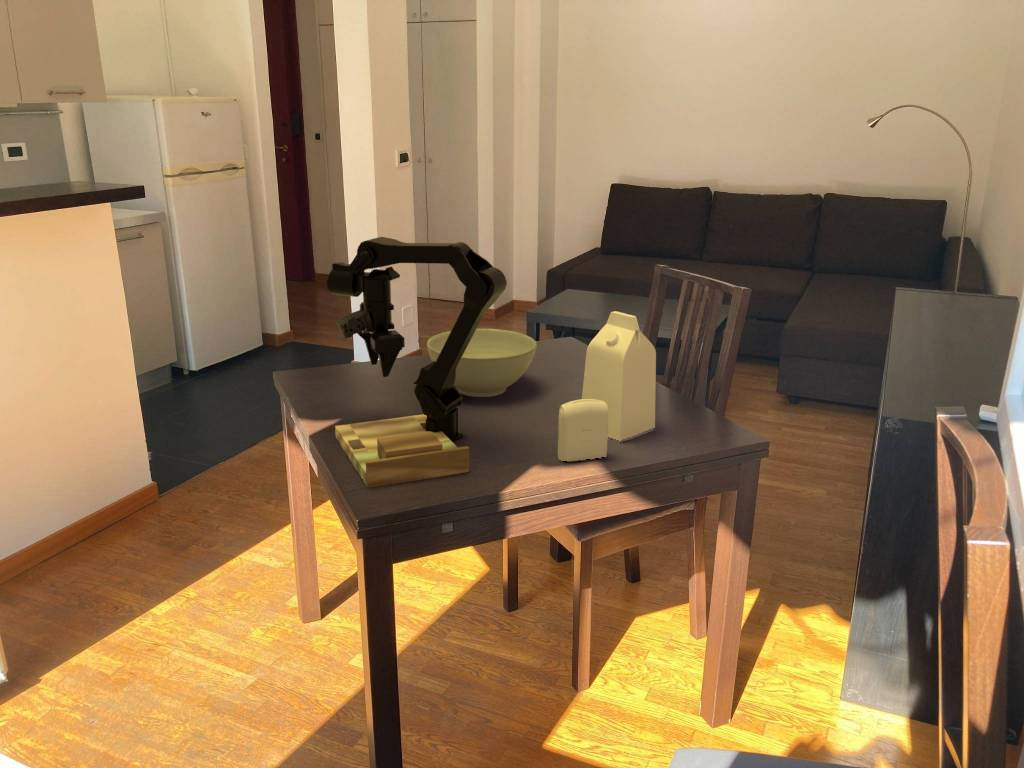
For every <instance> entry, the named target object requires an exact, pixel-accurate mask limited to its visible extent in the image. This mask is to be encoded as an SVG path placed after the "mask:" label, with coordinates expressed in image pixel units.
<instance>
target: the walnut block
mask: <svg viewBox="0 0 1024 768" xmlns="http://www.w3.org/2000/svg"><path fill="white" fill-rule="evenodd" d="M377 450H378V457H379V458H380V459H384V458H391V457H398V456H404V455H411V454H418V453H424V452H431V451H438V450H443V448H442V443H441V442H440V441H439V440H438V438H437V437H436V436H435V435H434V433H433V432H425V433H417V434H409V435H401V436H393V437H385V438H377Z"/></svg>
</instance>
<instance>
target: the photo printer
mask: <svg viewBox="0 0 1024 768" xmlns="http://www.w3.org/2000/svg"><path fill="white" fill-rule="evenodd" d="M558 409H559V410H558V429H557V430H558V431H557V432H558V433H557V434H558V435H557V439H558V440H557V459H558V460H559V461H560V460H561V461H560V462H562V461H567V462H576V461H577V462H578V461H579V460H580V461H587V460H586V459H590V460H596V459H595V458H599V459H602V458H601V457H605V458H607V454H608V440H609V439H608V415H609V412H608V406H607V404H606V403H605V402H604V401H601V400H595V399H582V398H581V399H575V400H572V401H571V400H570V401H567V402H566V403H563V404H561V405H560V406H559V408H558Z"/></svg>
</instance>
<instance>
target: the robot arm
mask: <svg viewBox="0 0 1024 768" xmlns="http://www.w3.org/2000/svg"><path fill="white" fill-rule="evenodd" d="M396 264H397V265H398V264H439V265H440V264H445V265H446V264H447V265H449V266H450V267H451V268H452V269H453V271H454V272H455V275H456V276H457V278H458V280H459V281H460V282H461V284H462V285H464V287H465V289H464V293H463V303H462V309H461V311H460V312H459V315H458V317H457V319H456V320H455V322H454V325H453V326H452V329H451V330H450V331H451V332H450V334H449V336H448V338H447V340H446V342H445V344H444V346H443V348H442V350H441V352H440V354H439V356H438V358H437V360H436V361H433V362H432V361H431V362H430V363H428V364H427V365H424V366H423V367H422V368H421V369H420V370H419V374H418V378H417V379H416V380H415V381H413V385H414V391H413V392H414V395H415V398H416V399H417V401H418V403H419V405H420V408H421V411H422V414H424V415H427V419H426V431H430V432H433V433H436V432H443V433H444V434H445V435H446V436H447V437H448V438H449V439H450V440H451V441H452V442H453V441H456V440H459V439H462V438H463V437H464V434H463V433H460V432H459V408H458V407H460V406H461V405H462V402H463V399H464V397H463V394H461V393H460V392H458V391H457V387H456V386H454V382H455V378H456V367H457V365H458V363H459V361H460V359H461V357H462V356H463V354H464V352H465V350H466V348H467V346H468V344H469V342H470V340H471V338H472V336H473V334H474V332H475V330H476V329H478V326H479V324H480V322H481V321H482V319H483V317H484V315H485V314H486V312H487V311H488V310H489V309H490V308H491V307H492V306H493V305H494V304H495V303H496V301H498V299H499V298H500V297H501V295H502V294H503V293H504V291H505V289H506V288H507V284H508V283H507V278H506V275H505V274H504V272H503V271H501V270H500V269H499V268H498V267H494V266H493V265H492V264H491V263H490V261H488V260H487V259H485V258H484V257H483V256H481V255H480V254H478V253H477V252H475V251H474V250H473V249H472V248H471V247H470V246H469V245H468V244H466V242H461V241H458V242H448V243H447V242H404V241H401V240H399V239H394V238H392V237H391V238H390V237H385V236H378V237H375V238H371V239H367V240H364V241H362V242H360V244H359V245H358V247H357V249H356V255H355V257H354V258H353V259H352V261H351V262H350V263H346V262H345V263H344V262H342V261H341V262H340V261H337V262H333V263H332V264H331V270H330V272H329V273H328V276H327V277H328V278H327V280H326V286H327V290H328V292H329V293H330V294H331V295H336V296H343V297H344V296H347V297H355V298H359V297H360V296H361V294H362V297H363V298H362V301H361V302H360V304H359V310H356V311H354V312H351V313H349V314H346V315H344V316H342V317H339V318H338V319H336V320H335V322H336V325H337V328H338V329H339V332H340V334H341V335H342V336H343V338H344V339H349V338H351V337H353V335H356V334H357V335H358V336H359V337H360V338H361V339H362V340H363V341H364V344H365V347H366V350H367V354H368V358H369V361H370V364H371V365H377V364H378V360H379V365H380V370H381V371H380V372H381V374H382V377H383V378H385V377H386V378H387V377H389V375H390V373H391V371H392V369H393V368H394V367H393V366H394V364H395V362H396V360H397V358H398V355H400V352H401V351H402V350H403V348H405V346H406V345H405V344H406V343H405V337H404V336H403V335H402V334H400V333H399V332H398V331H397V330H396V329H395V324H394V322H393V321H392V311H394V310H395V305H394V304H393V303H392V293H391V292H392V289H391V286H392V285H391V281H393V280H394V281H395V280H396V279H399V278H400V277H401V275H400V274H399V273H398V271H396V270H395V269H394V268H393V267H392V265H396ZM388 266H389V267H388ZM383 267H386V268H385V269H379V268H383ZM367 270H370V271H368V272H367Z"/></svg>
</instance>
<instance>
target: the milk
mask: <svg viewBox="0 0 1024 768" xmlns="http://www.w3.org/2000/svg"><path fill="white" fill-rule="evenodd" d="M584 362H585V365H584V375H583V384H582V392H581V393H582V394H581V399H595V400H601V401H604V402H605V403H606V404H607V406H608V412H609V415H608V437H610V438H613V439H616V440H619V441H621V440H623V439H626V438H628V437H632V436H634V435H637V434H639V433H642V432H644V431H647V430H649V429H652V428H655V429H656V388H657V387H656V381H657V380H656V379H657V376H656V375H657V373H656V372H657V351H656V348H655V346H654V345H653V343H652V342H651V341H650V340H649V339H648V338H647V336H645V334H643V332H642V331H641V330H640V326H639V323H638V318H637V316H636V315H633V314H628V313H626V312H621V311H616V310H614V311H611V312H610V313H609V316H608V319H607V321H606V323H605V325H604V326H603V327H602V328H601V329H600V330H599V332H598V333H597V334H596V335H595V336H594V337H593V339H592V340H591V341H590V343H589V344H588V346H587V349H586V353H585V361H584Z"/></svg>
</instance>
